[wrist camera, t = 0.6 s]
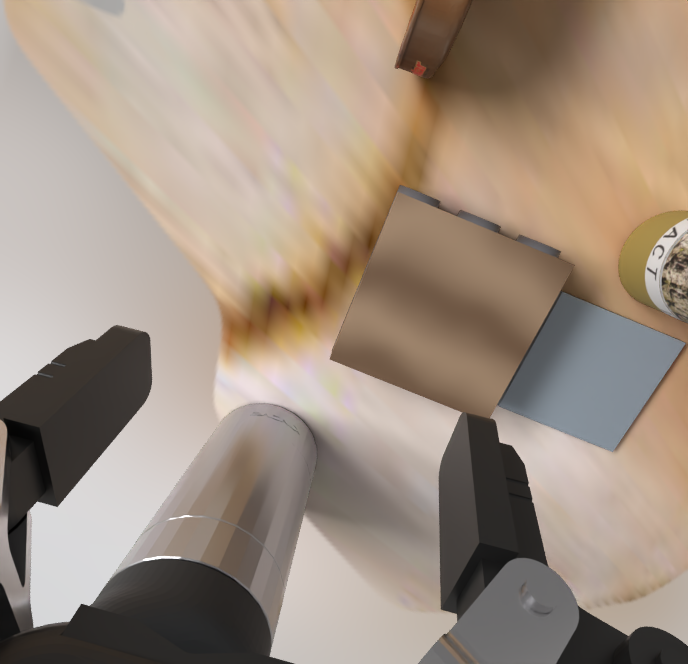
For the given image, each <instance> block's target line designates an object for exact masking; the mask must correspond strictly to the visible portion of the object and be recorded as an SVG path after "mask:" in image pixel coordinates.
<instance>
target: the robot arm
mask: <svg viewBox="0 0 688 664" xmlns="http://www.w3.org/2000/svg"><path fill="white" fill-rule="evenodd" d="M151 385H152V369H151V347H150V337H149V335H148V334H147V333H146V332H143V331H139V330H135V329H130V328H127V327H122V326H118V325H116V326H113V327H112V328H110V329H109V330H108V331H107V332H106V333H104V334H103V335H102V336H101V337H100V338H98V339H97V340H96V341H95V340H91V339H89V340H86V341H84V342H82V343H79V344H77V345H74V346H72V347H70V348H67V349H66V350H65V351H64V352H62V353H61V354H60V355H59V356H58V357H56V358H55V359H54V360H52V362H51V364H47V365H46V366H45V367H43V368H42V369H41V370H40V371H38V374H37V375H33V376H32V377H31V378H30V379H28V380H27V381H26V382H24V383H23V384H22V385H21V386H19V387H18V388H17V389H16V390H14V391H13V392H12V393H10V394H9V395H8V396H7V397H5V398H4V399H3V400H2V401H0V664H294V663H290V662H287V661H283V660H279V659H276V658H272V657H269V656H270V652H271V647H272V643H273V639H274V635H275V631H276V627H277V623H278V619H279V615H280V610H281V607H282V602H283V597H284V593H285V589H286V585H287V581H288V576H289V573H290V568H291V564H292V560H293V556H294V552H295V548H296V544H297V540H298V536H299V532H300V528H301V523H302V519H303V515H304V511H305V507H306V503H307V499H308V495H309V492H310V488H311V483H312V479H313V475H314V471H315V467H316V462H317V447H316V443H315V440H314V437H313V435H312V433H311V432H310V430H309V428H308V427H307V426H306V425H305V423H304V422H303V421H302V420H301V419H300V418H298V417H297V416H296V415H294V414H293V413H292V412H290V411H288V410H286V409H284V408H282V407H278V406H275V405H271V404H261V403H259V404H249V405H246V406H243V407H240V408H237V409H236V410H234V411H232V412H231V413H229V414H228V415H227V416H226V417H225V418H224V419H223V420H222V421H221V422H220V424H219V425H218V427H217V428H216V429H215V431H214V432H213V434H212V435H211V437H210V438H209V439H208V441H207V443H205V445H204V446H203V447H202V449H201V450H200V452H199V453H198V455H197V456H196V458H195V459H194V460H193V462H192V463H191V465H190V466H189V468H188V469H187V470H186V472H185V473H184V475H183V476H182V477H181V479H180V480H179V482H178V483H177V484H176V486H175V487H174V489H173V490H172V492H171V493H170V495H169V496H168V497H167V499H166V500H165V501H164V503H163V504H162V506H161V507H160V509H159V510H158V511H157V513H156V514H155V516H154V517H153V518H152V520H151V521H150V523H149V524H148V525H147V527H146V528H145V530H144V531H143V533H142V534H141V536H140V537H139V538H138V540H137V541H136V543H135V544H134V546H133V547H132V549H131V550H130V551H129V553H128V554H127V556H126V557H125V559H124V560H123V561H122V563H121V564H120V566H119V567H118V569H117V570H116V572H115V573H114V574H113V576H112V577H111V578H110V580H109V581H108V583H107V584H106V586H105V587H104V588H103V590H102V591H101V593H100V594H99V596H98V597H97V598H96V600H95V601H94V603H93V604H91V605H90V606H87V605H84V604H81V605H80V607H79V608H78V610H77V611H76V613H75V615H74V616H73V618H72V619H71V621H70V622H62V623H55V624H48V625H44V626H40V627H36V628H33V619H32V613H31V604H30V571H31V568H30V567H31V527H32V525H31V524H32V519H31V514H30V509H31V508H32V507H33V505H34V504H35V503H36V502H37V501H38V502H42V503H45V504H49V505H53V506H56V507H58V506H59V504H60V503H61V502H62V501H63V500H64V498H65V497H66V496H67V495H68V494H69V492H70V491H71V490H72V489H73V488H74V487H75V485H76V484H77V483H78V482H79V481H80V479H81V478H82V477H83V476H84V475H85V473H86V472H87V471H88V470H89V469H90V467H91V466H92V465H93V464H94V463H95V462H96V460H97V459H98V458H99V457H100V456H101V454H102V453H103V452H104V451H105V450H106V448H107V447H108V446H109V445H110V444H111V442H112V441H113V440H114V439H115V438H116V436H117V435H118V434H119V433H120V432H121V431H122V429H123V428H124V427H125V426H126V425H127V423H128V422H129V421H130V420H131V419H132V417H133V416H134V415H135V414H136V413H137V411H138V410H139V409H140V408H141V407H142V405H143V404H144V403H145V401H146V399H147V397H148V395H149V393H150V390H151ZM528 484H529V482H528V478H527V474H526V469H525V465H524V463H523V462H522V460H521V459H520V457H519V456H518V454H517V453H516V451H515V450H514V448H513V447H512V446H511V445H507V444H503V443H499V437H498V432H497V426H496V422H495V420H493V419H490V418H486V417H482V416H478V415H474V414H470V413H466V412H463V413H462V414H461V416H460V418H459V420H458V422H457V425H456V427H455V429H454V431H453V434H452V436H451V438H450V441H449V443H448V445H447V448H446V450H445V452H444V455H443V458H442V461H441V465H440V471H439V525H440V583H441V610H444V611H448V612H452V613H455V614H457V623H456V624H455V625H454V627H453V628H452V629H451V630H450V631H449V632H448V633H447V634H444V635H443V636H442V637H441V638H440V639H439V640H438V641H437V642H436V643H435V644H434V645H433V647H432V648H431V649H430V650H429V651H428V652H427V654H426V655H425V656H424V657H423V658H422V659H421V661H420V662H419V663H418V664H688V646H687V645H686V644H684V643H683V642H682V641H681V640H679V639H678V638H676V637H674V636H673V635H671V634H670V633H668V632H666V631H663V630H661V629H658V628H654V627H640V628H638V629H636V630H635V631H634V632H633V633H632V634H631V635H630V636H627V635H625V634H624V633H622V632H620V631H619V630H617V629H615V628H613V627H612V626H610V625H608V624H607V623H605V622H603V621H601V620H600V619H598V618H596V617H594V616H593V615H591V614H589V613H588V612H586V611H585V610H583V609H582V608H580V607H579V606H578V605H577V602H576V599H575V597H574V595H573V593H572V591H571V590H570V588H569V587H568V585H567V584H566V583H565V581H564V580H563V579H562V578H561V577H560V576H559V575H558V574H557V573H556V572H555V571H553V570H552V569H551V568H549V567H548V564H547V560H546V556H545V552H544V547H543V543H542V539H541V534H540V530H539V526H538V521H537V517H536V513H535V508H534V504H533V503H532V495H531V491H530V487H528Z"/></svg>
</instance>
